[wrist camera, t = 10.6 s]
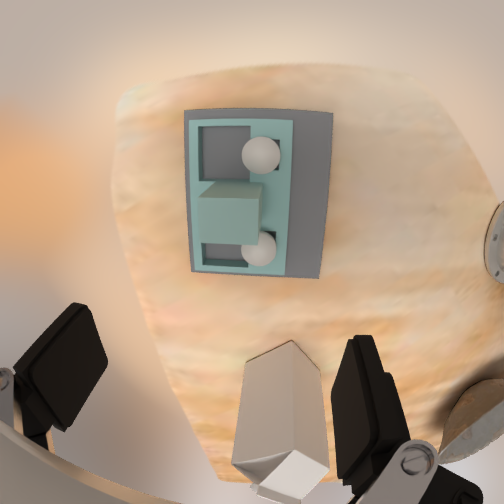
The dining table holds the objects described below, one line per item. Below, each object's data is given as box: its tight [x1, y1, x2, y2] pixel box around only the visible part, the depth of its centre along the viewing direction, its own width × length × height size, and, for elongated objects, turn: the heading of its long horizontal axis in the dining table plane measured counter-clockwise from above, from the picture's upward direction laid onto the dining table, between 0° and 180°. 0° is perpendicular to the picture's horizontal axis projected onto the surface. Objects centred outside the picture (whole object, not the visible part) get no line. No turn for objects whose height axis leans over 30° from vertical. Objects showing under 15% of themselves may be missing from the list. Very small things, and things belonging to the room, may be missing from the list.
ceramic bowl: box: [438, 379, 504, 464], centre depth 33 cm, size 22×23×10 cm
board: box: [184, 108, 333, 279], centre depth 25 cm, size 13×16×4 cm
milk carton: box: [231, 341, 330, 504], centre depth 27 cm, size 7×7×19 cm
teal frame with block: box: [189, 119, 293, 275], centre depth 22 cm, size 9×14×7 cm, turn 179°
